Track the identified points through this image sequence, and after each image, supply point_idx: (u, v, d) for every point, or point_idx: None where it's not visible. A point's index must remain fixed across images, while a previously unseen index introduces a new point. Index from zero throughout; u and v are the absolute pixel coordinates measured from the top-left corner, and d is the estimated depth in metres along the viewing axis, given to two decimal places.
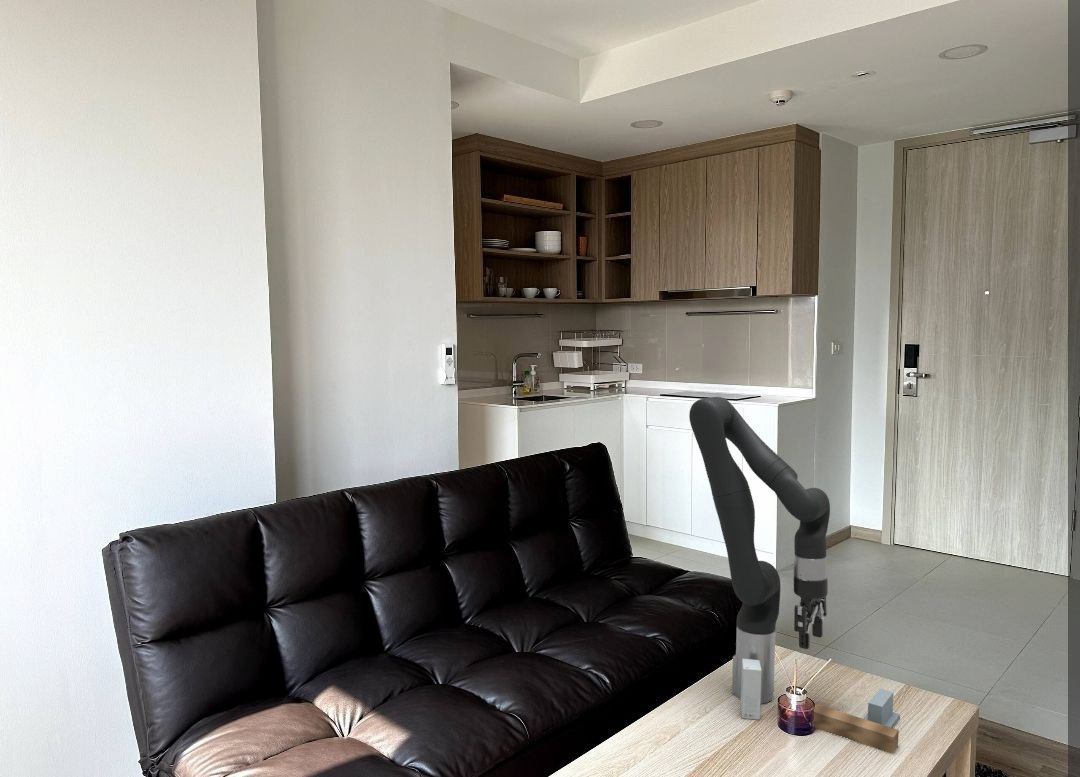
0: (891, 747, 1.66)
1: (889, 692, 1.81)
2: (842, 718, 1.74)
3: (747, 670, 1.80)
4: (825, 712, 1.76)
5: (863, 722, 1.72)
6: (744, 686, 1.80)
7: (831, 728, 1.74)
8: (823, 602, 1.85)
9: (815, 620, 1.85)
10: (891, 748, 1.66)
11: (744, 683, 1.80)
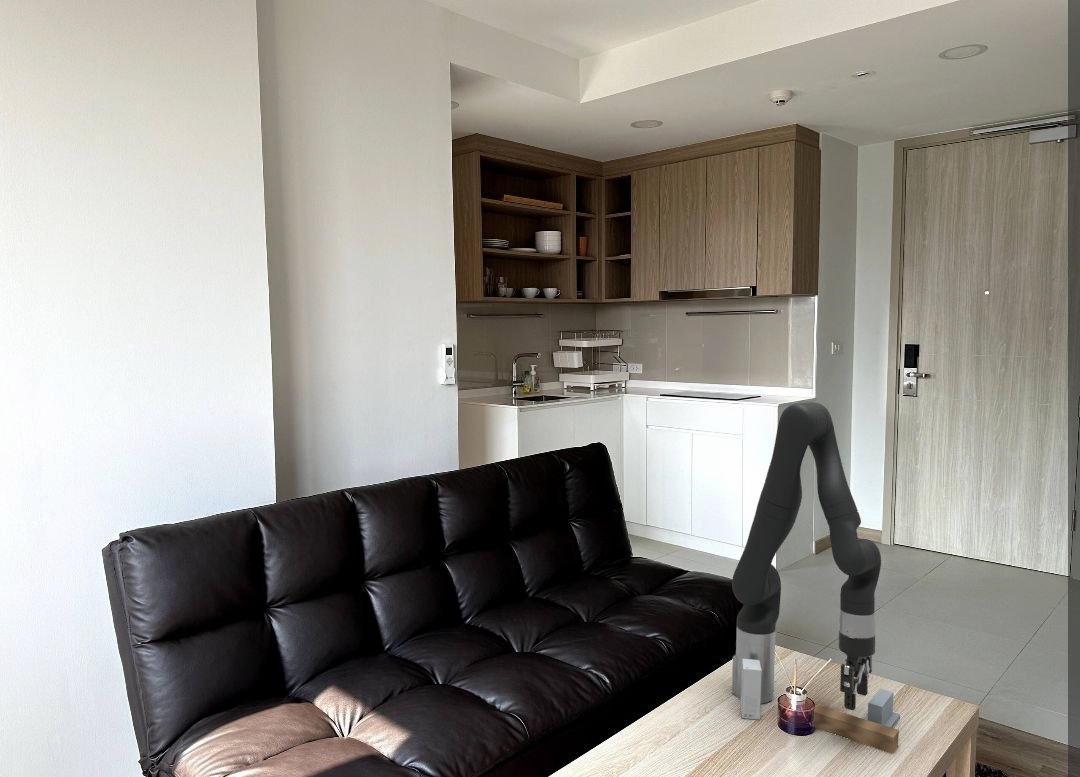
0: (891, 747, 1.66)
1: (889, 692, 1.81)
2: (842, 718, 1.74)
3: (747, 670, 1.80)
4: (825, 712, 1.76)
5: (863, 723, 1.72)
6: (744, 686, 1.80)
7: (831, 728, 1.74)
8: (868, 658, 1.76)
9: None
10: (891, 748, 1.66)
11: (744, 683, 1.80)
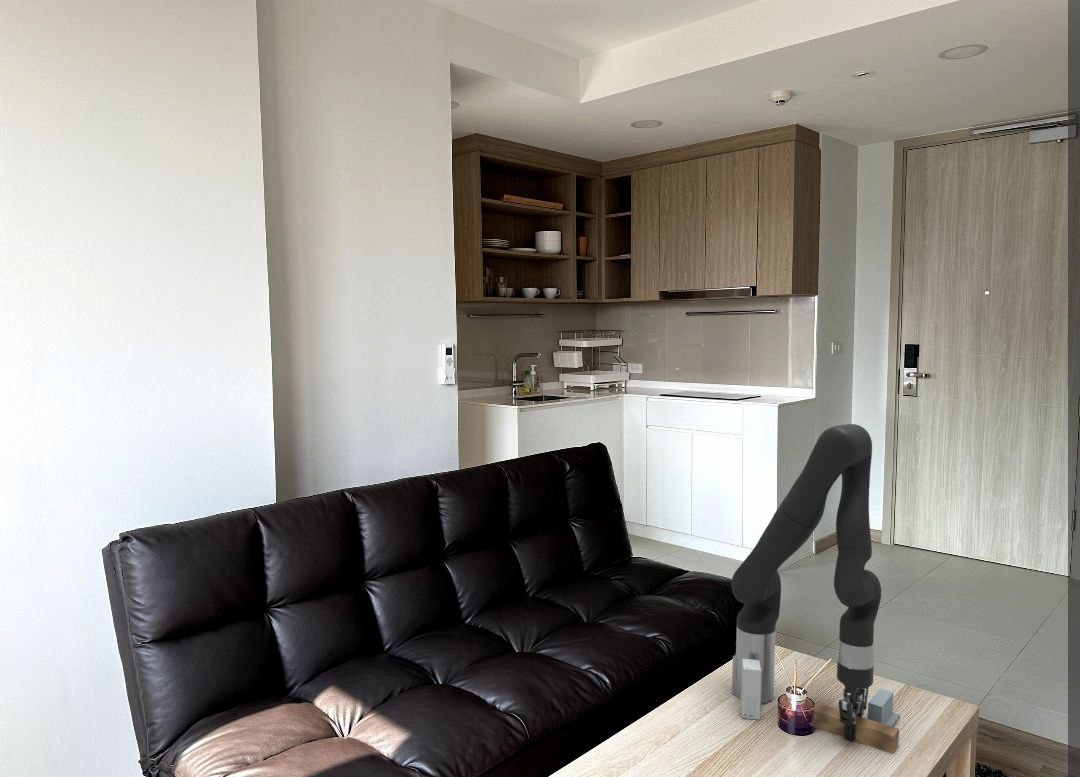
0: (891, 746, 1.66)
1: (889, 692, 1.81)
2: None
3: (747, 670, 1.80)
4: (825, 711, 1.76)
5: (863, 721, 1.72)
6: (744, 686, 1.80)
7: (831, 727, 1.74)
8: (865, 693, 1.76)
9: None
10: (891, 747, 1.66)
11: (744, 683, 1.80)
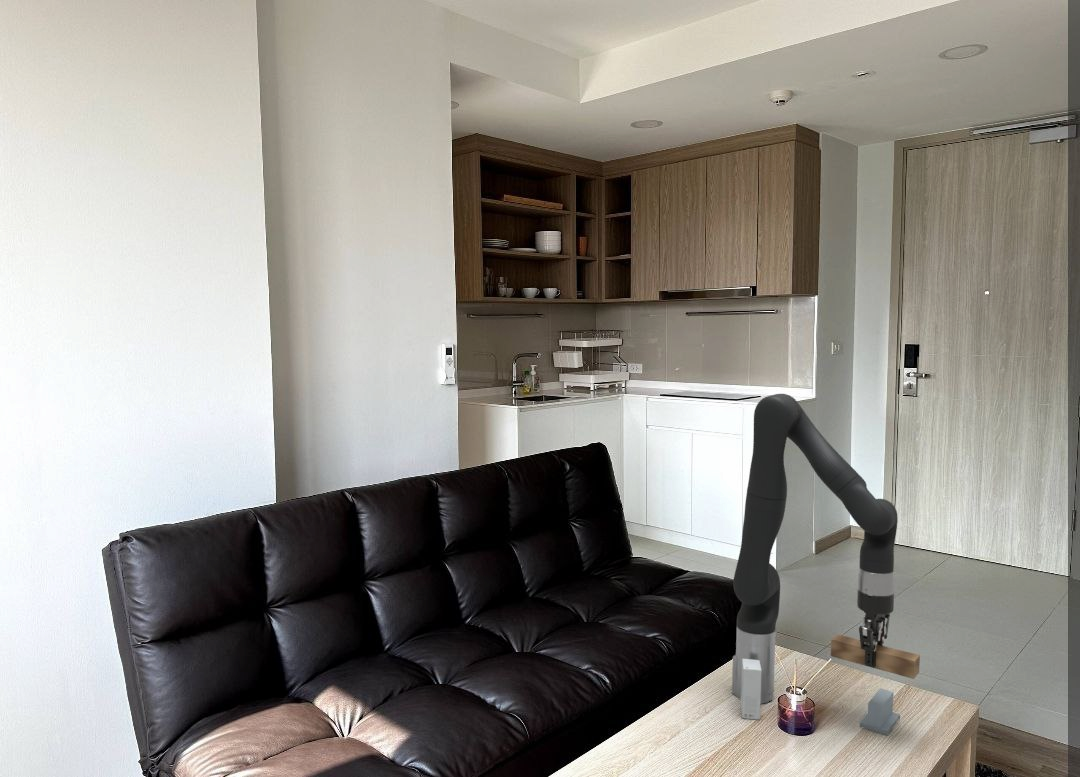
0: (912, 671, 1.68)
1: (889, 692, 1.81)
2: None
3: (747, 670, 1.80)
4: (846, 641, 1.78)
5: (884, 649, 1.74)
6: (744, 686, 1.80)
7: (852, 655, 1.76)
8: (886, 622, 1.78)
9: None
10: (912, 672, 1.68)
11: (744, 683, 1.80)
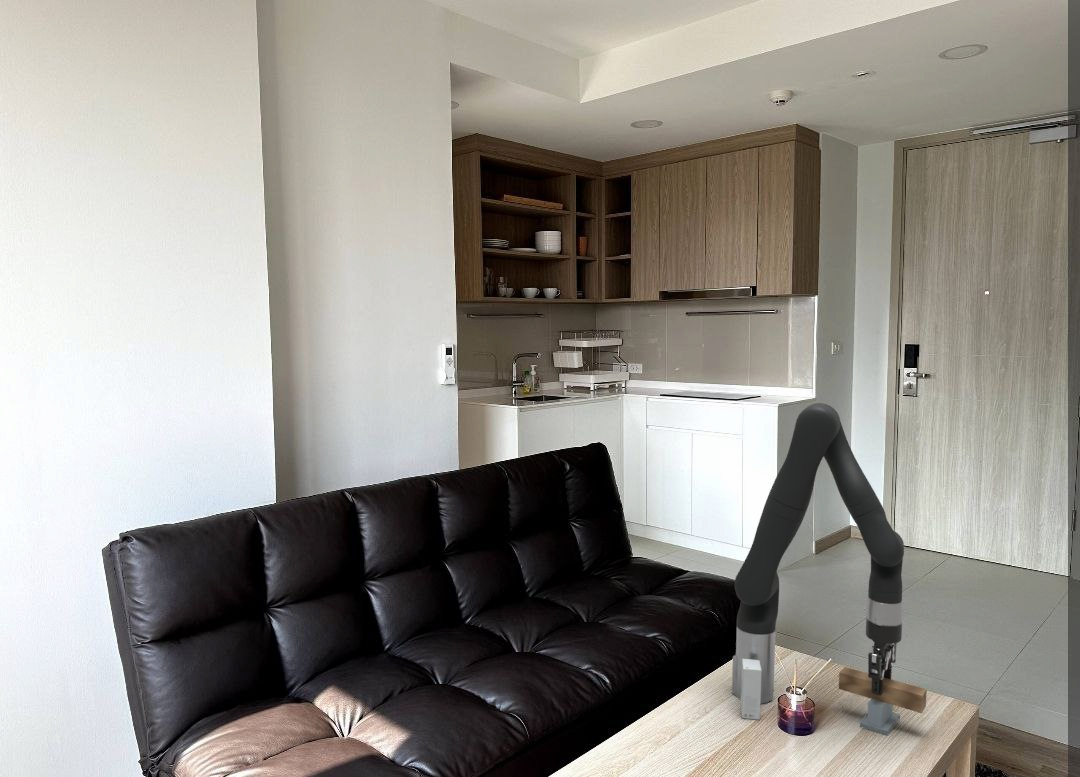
0: (920, 705, 1.71)
1: None
2: (871, 679, 1.79)
3: (747, 670, 1.80)
4: (854, 674, 1.82)
5: (891, 683, 1.77)
6: (744, 686, 1.80)
7: (860, 689, 1.79)
8: (893, 647, 1.81)
9: None
10: (920, 706, 1.71)
11: (744, 683, 1.80)
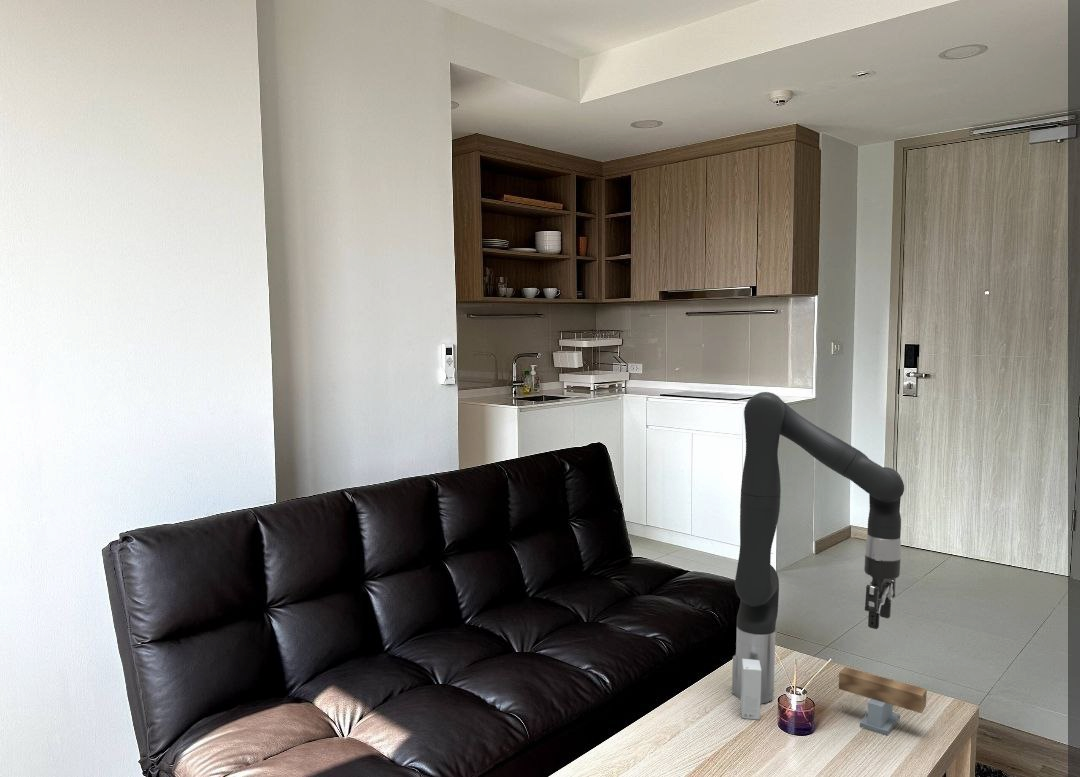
0: (920, 705, 1.71)
1: None
2: (871, 679, 1.79)
3: (747, 670, 1.80)
4: (854, 674, 1.82)
5: (891, 683, 1.77)
6: (744, 686, 1.80)
7: (860, 689, 1.79)
8: (892, 583, 1.84)
9: None
10: (920, 706, 1.71)
11: (744, 683, 1.80)
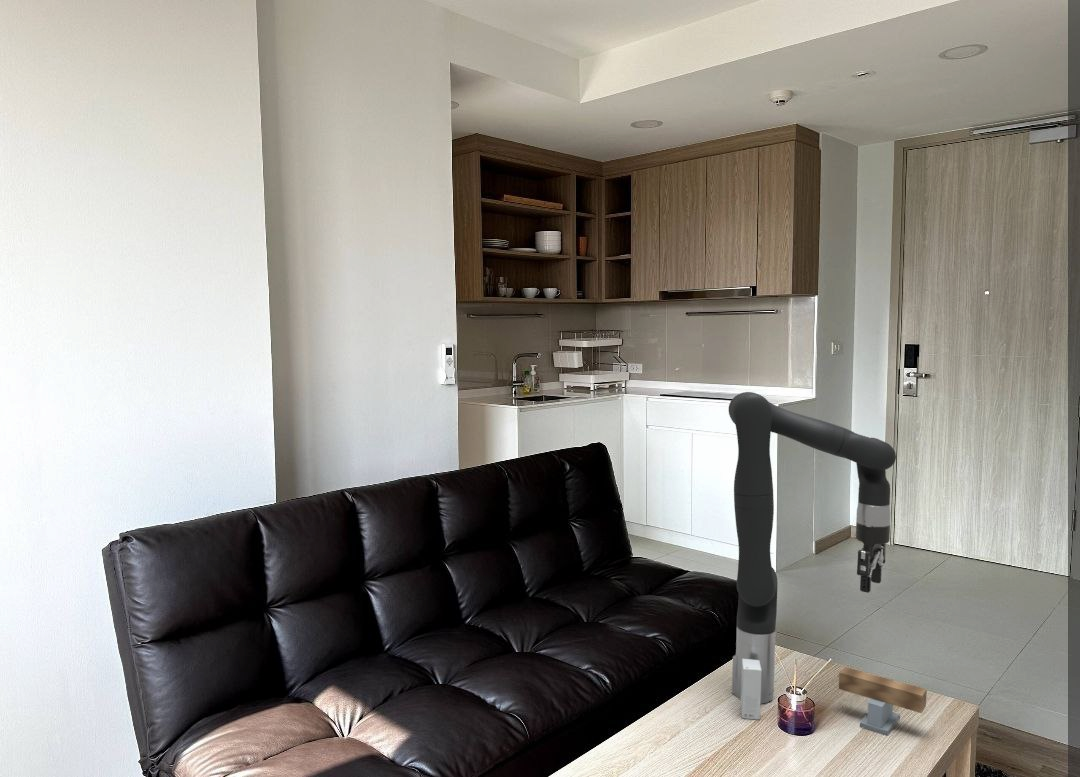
0: (920, 705, 1.71)
1: None
2: (871, 679, 1.79)
3: (747, 670, 1.80)
4: (854, 674, 1.82)
5: (891, 683, 1.77)
6: (744, 686, 1.80)
7: (860, 689, 1.79)
8: (883, 549, 1.91)
9: (874, 566, 1.91)
10: (920, 706, 1.71)
11: (744, 683, 1.80)
